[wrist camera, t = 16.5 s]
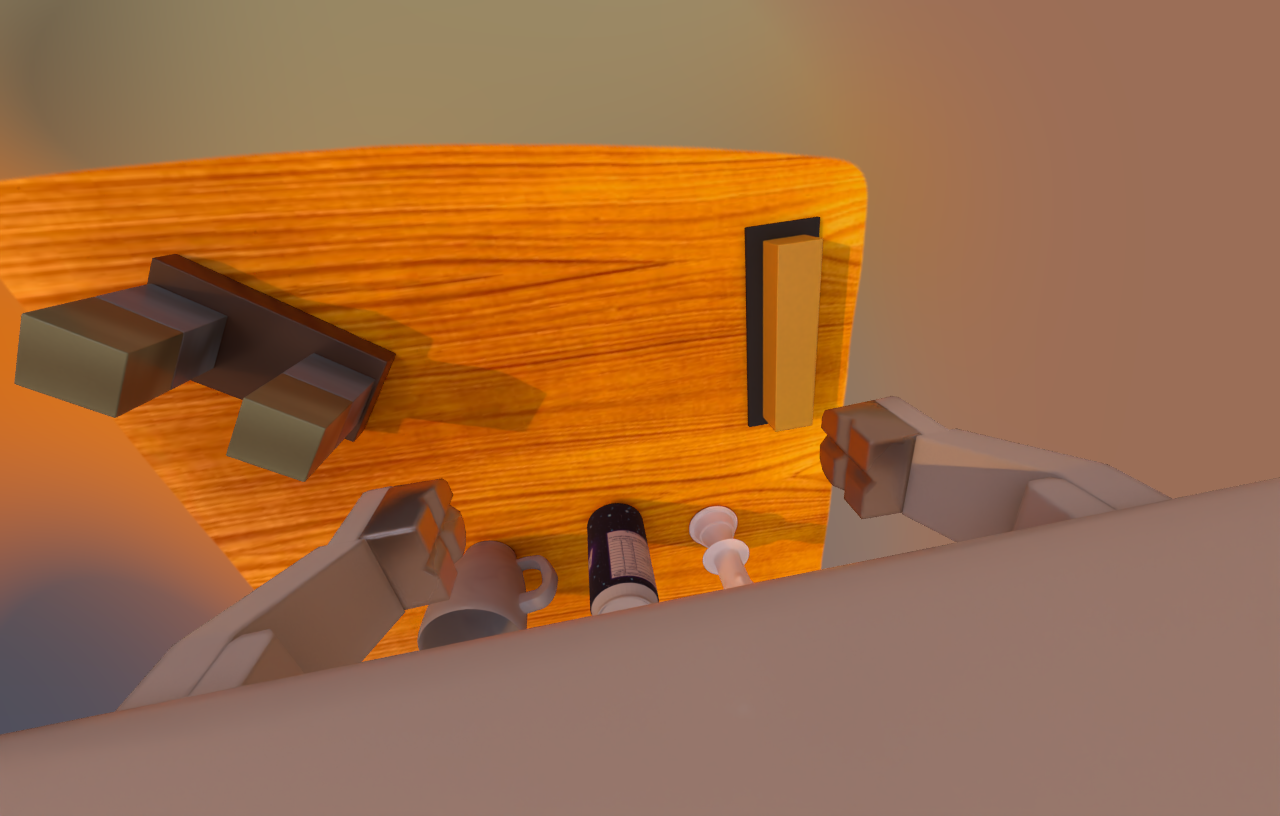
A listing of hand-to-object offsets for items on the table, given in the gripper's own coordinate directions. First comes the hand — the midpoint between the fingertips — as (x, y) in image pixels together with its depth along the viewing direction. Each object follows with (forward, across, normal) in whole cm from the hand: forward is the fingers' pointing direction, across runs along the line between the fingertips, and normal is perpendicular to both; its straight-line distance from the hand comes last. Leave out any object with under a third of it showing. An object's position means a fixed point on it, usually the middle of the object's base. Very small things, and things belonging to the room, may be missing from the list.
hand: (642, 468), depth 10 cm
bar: (+28, -15, +8) cm, 33 cm away
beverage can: (+29, +2, +26) cm, 38 cm away
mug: (+29, +14, +28) cm, 42 cm away
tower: (+28, +25, +3) cm, 38 cm away
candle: (+29, -8, +29) cm, 41 cm away
